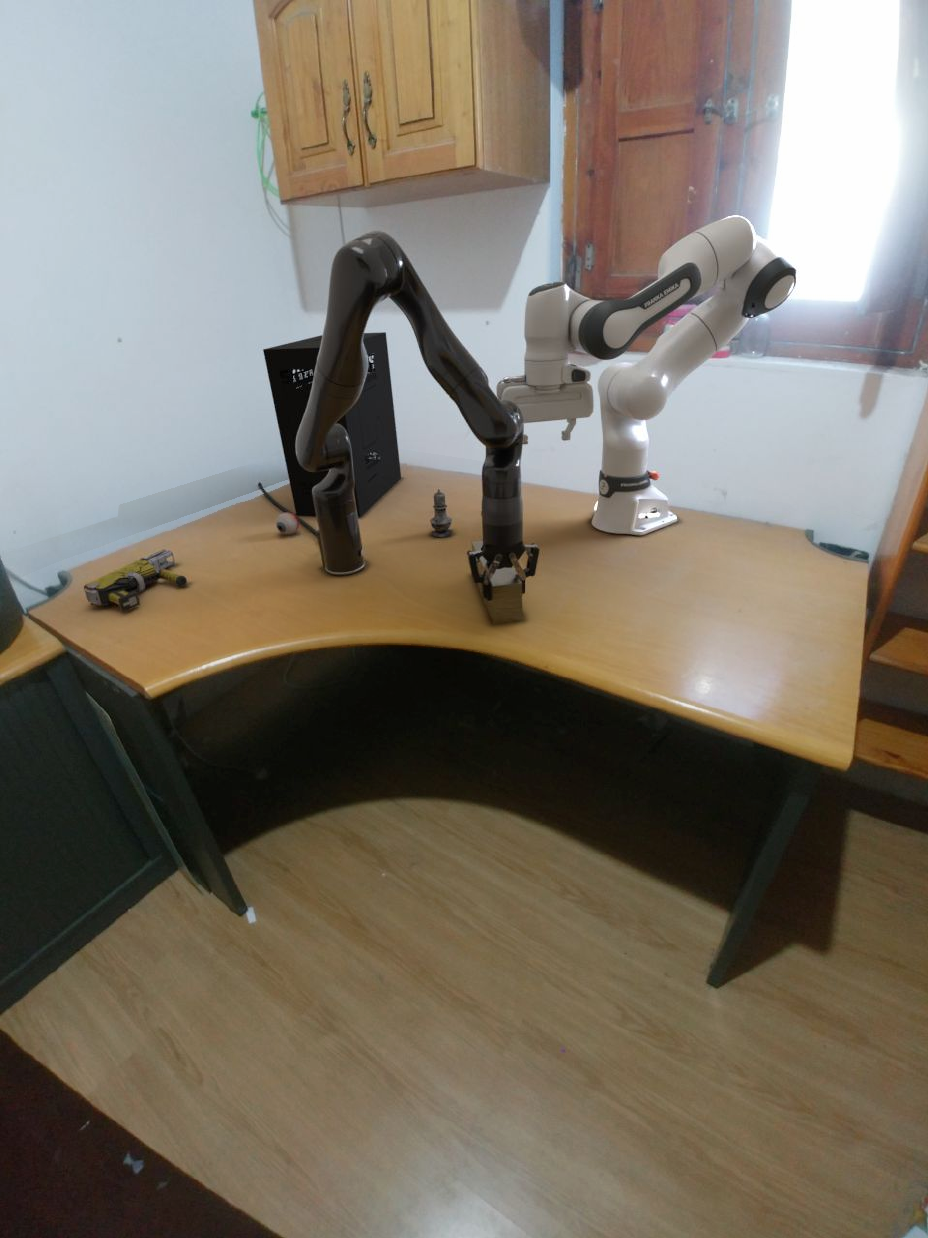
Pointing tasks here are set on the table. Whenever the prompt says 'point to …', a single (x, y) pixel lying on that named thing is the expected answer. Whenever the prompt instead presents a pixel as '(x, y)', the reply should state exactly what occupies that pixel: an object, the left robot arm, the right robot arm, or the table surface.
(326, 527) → the left robot arm
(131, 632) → the table surface
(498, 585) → the bar
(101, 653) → the table surface
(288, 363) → the cardboard box
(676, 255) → the right robot arm
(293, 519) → the eyeball
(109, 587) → the toy gun
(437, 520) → the salt shaker
